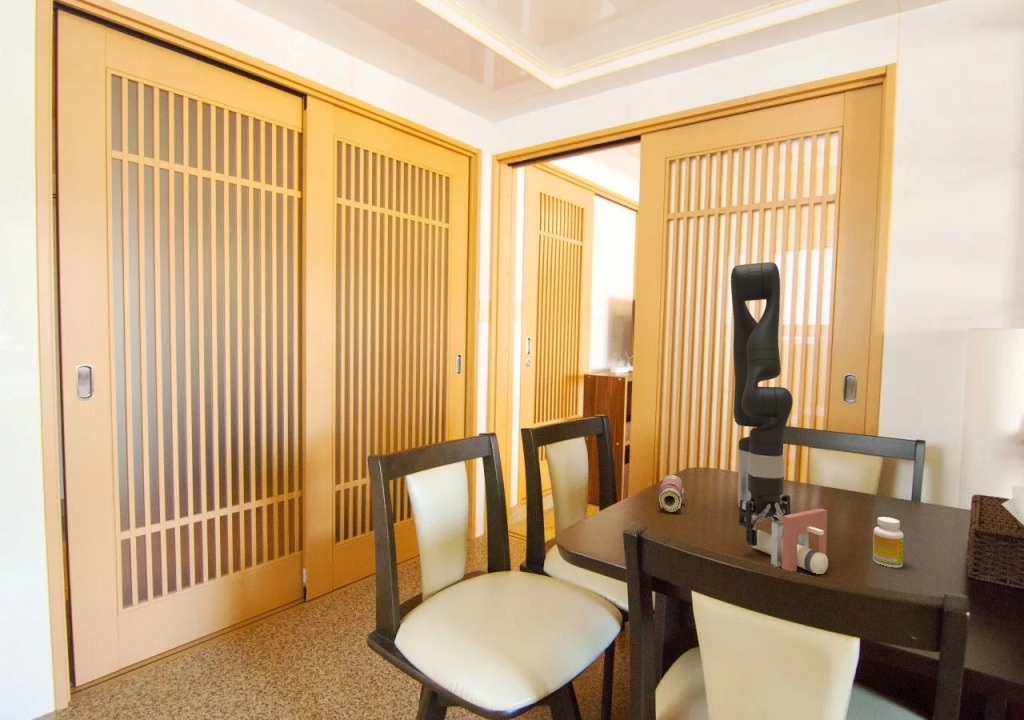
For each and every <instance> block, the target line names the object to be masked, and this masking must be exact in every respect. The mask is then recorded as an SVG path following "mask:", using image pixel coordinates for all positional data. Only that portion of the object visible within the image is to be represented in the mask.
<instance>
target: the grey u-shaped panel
mask: <svg viewBox="0 0 1024 720" xmlns="http://www.w3.org/2000/svg"><path fill="white" fill-rule="evenodd" d="M782 530H783V520H778V521H773V520H772V521H771V535H772V538H771V555H770V558H771V559H770V563H771V564H770V565H771V566H773V567H775V568H780V567H779V566H781V567H782ZM809 533H810V532H809ZM809 533H804V534H800V535H797V544H798V545H801V546H804V547H807V548H809ZM772 564H774V565H772ZM775 565H776V566H775ZM778 565H779V566H778Z"/></svg>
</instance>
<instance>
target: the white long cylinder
mask: <svg viewBox="0 0 1024 720" xmlns="http://www.w3.org/2000/svg"><path fill="white" fill-rule="evenodd" d="M756 530H757V545H756V546H752V545H750V546H751V548H753V549H755V550H757V551H761V552H763V553H765V554H768V555H770V556H771V538H772V533H768V532H766V531H763V530H761V529H756ZM782 548H783V539H782ZM828 566H829V559H828V557H827V554H826V555H825V554H823V553H821V552H819V551H816V550H812V548H809V547H808V548H807V547H804V546H801V545H798V543H797V567H799V568H801V569H804V570H806V571H808V572H810V573H812V574H815V573H816V575H818V574H822V575H823V574H825V573H826V571H827V569H828Z"/></svg>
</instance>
